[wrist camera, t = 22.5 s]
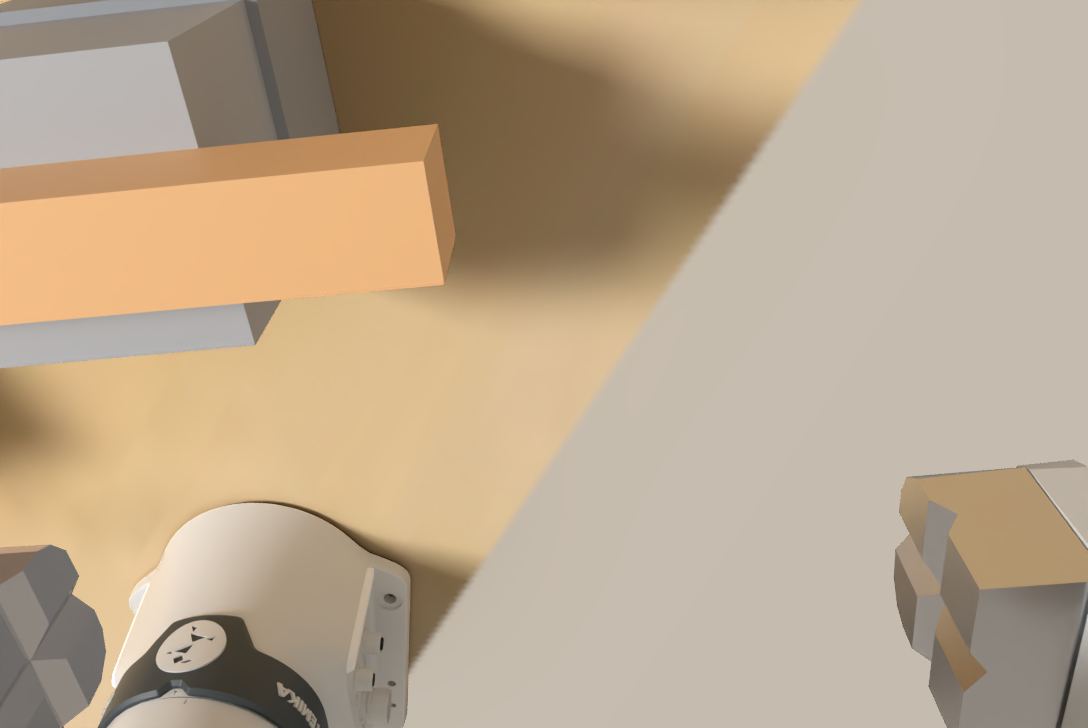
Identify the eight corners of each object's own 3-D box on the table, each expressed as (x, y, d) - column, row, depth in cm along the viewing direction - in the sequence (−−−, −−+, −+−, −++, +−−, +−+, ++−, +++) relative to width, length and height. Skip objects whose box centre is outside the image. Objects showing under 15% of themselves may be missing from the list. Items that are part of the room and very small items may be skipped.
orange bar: (456, 236, 33) (444, 284, 30) (-195, 298, 35) (-278, 351, 31) (437, 123, 32) (423, 160, 28) (-251, 193, 33) (-346, 237, 29)
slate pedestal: (354, 200, 51) (271, 355, 36) (135, 222, 51) (-35, 383, 37) (302, -43, 45) (178, 23, 30) (56, -15, 46) (-184, 63, 31)
